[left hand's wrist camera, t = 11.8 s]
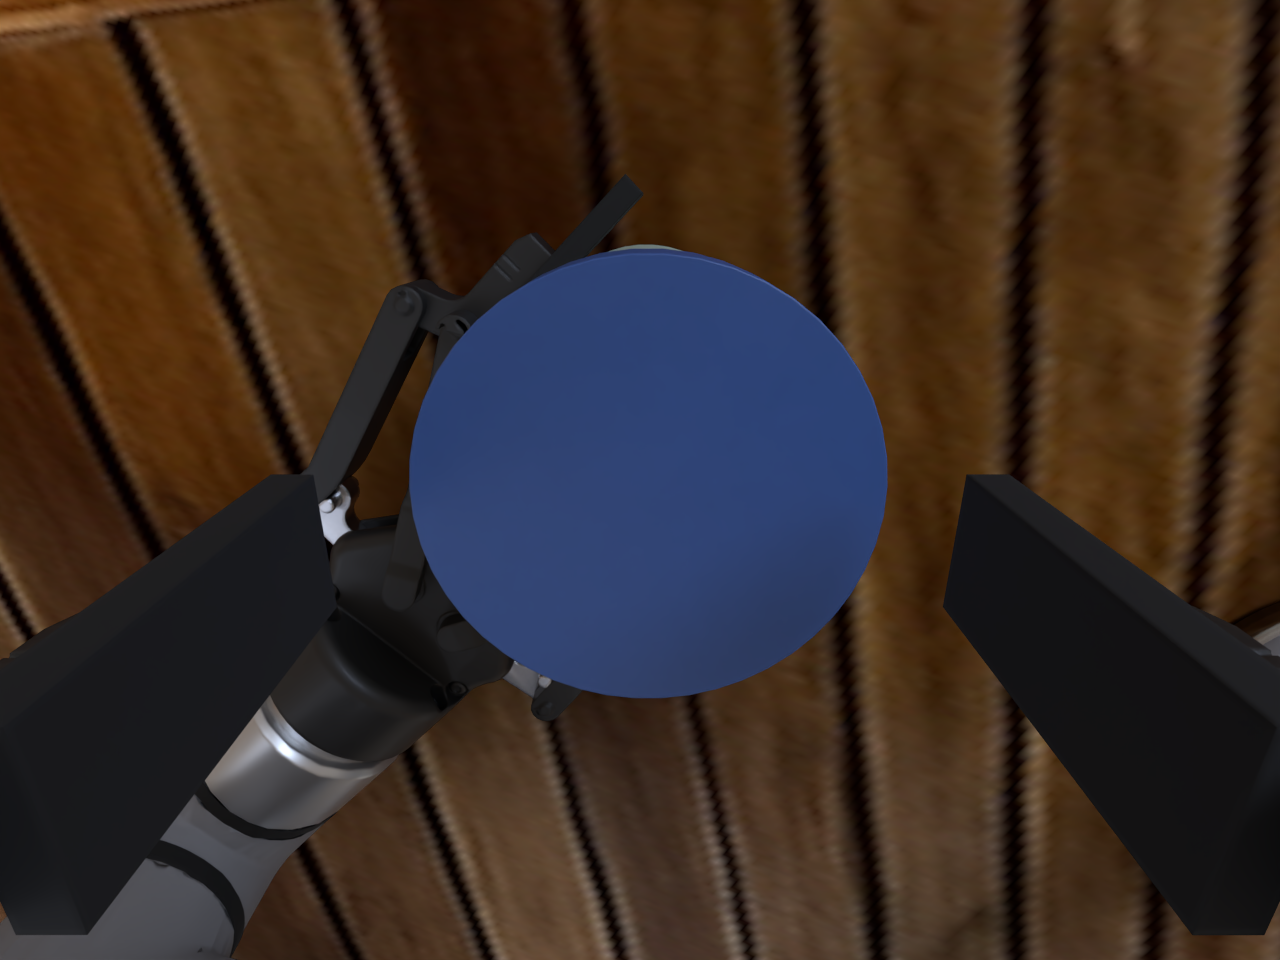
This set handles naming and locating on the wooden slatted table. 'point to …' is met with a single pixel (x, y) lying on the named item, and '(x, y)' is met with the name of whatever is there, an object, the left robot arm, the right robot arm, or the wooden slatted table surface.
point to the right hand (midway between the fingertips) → (739, 299)
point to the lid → (648, 474)
